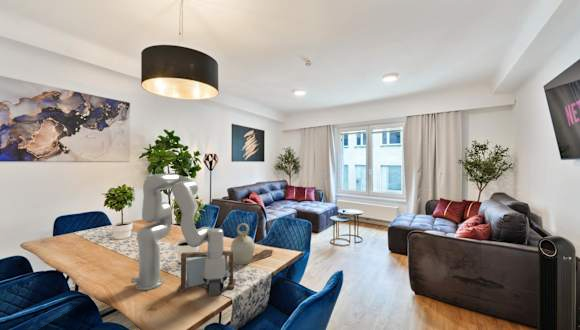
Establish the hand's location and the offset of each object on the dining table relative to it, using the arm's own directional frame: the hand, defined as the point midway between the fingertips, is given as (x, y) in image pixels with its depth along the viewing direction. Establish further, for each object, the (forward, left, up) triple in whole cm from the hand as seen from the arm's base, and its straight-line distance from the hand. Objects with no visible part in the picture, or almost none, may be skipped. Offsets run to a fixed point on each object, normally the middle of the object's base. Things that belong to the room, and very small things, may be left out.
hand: (215, 289), depth 115 cm
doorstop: (0, +4, -1) cm, 4 cm away
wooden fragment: (+24, +44, -2) cm, 50 cm away
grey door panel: (-6, +11, -1) cm, 12 cm away
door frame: (-5, +6, -1) cm, 8 cm away
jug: (+11, +37, -1) cm, 39 cm away
